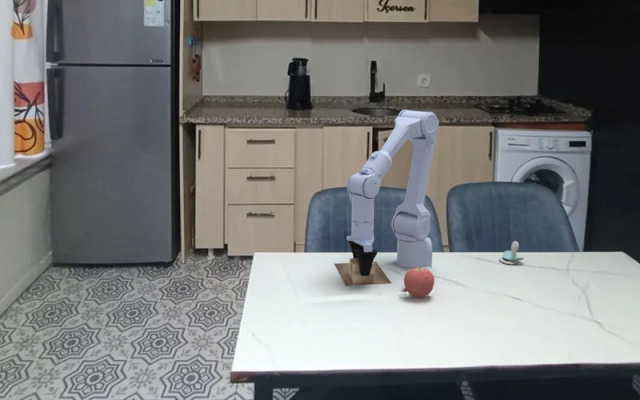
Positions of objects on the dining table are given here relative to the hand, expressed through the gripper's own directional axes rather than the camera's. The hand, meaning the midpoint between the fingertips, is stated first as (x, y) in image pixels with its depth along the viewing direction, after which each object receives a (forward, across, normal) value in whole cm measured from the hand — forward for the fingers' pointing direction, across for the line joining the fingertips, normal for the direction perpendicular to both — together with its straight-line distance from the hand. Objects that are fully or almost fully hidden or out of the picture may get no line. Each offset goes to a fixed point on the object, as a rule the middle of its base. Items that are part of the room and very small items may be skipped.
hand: (361, 270), depth 176 cm
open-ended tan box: (+2, 0, 0) cm, 2 cm away
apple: (+4, +10, +12) cm, 16 cm away
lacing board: (+4, -5, +1) cm, 6 cm away
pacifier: (+4, -13, +47) cm, 49 cm away
